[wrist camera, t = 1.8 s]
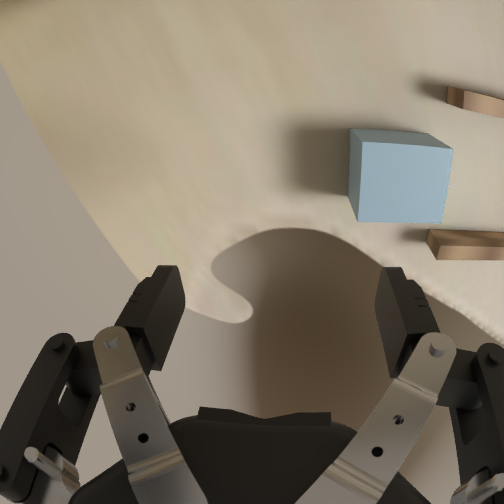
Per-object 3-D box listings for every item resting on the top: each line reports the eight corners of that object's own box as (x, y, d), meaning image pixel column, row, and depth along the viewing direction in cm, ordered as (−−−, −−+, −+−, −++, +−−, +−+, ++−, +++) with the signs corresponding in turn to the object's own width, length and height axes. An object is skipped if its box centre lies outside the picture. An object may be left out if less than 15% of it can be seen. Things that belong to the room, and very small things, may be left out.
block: (347, 195, 27) (357, 221, 23) (349, 128, 24) (362, 141, 20) (420, 197, 26) (441, 223, 22) (428, 133, 23) (453, 149, 19)
